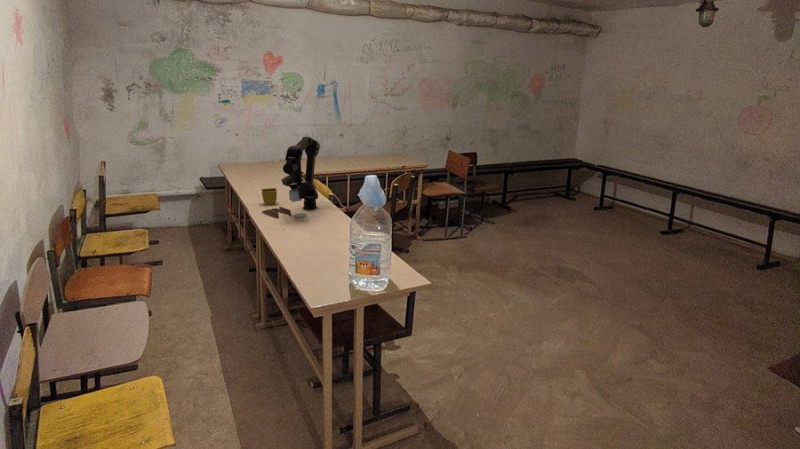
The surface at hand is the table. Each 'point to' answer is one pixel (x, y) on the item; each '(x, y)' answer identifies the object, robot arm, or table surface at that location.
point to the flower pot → (269, 196)
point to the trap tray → (272, 210)
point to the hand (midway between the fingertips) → (298, 198)
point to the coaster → (300, 215)
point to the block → (294, 195)
